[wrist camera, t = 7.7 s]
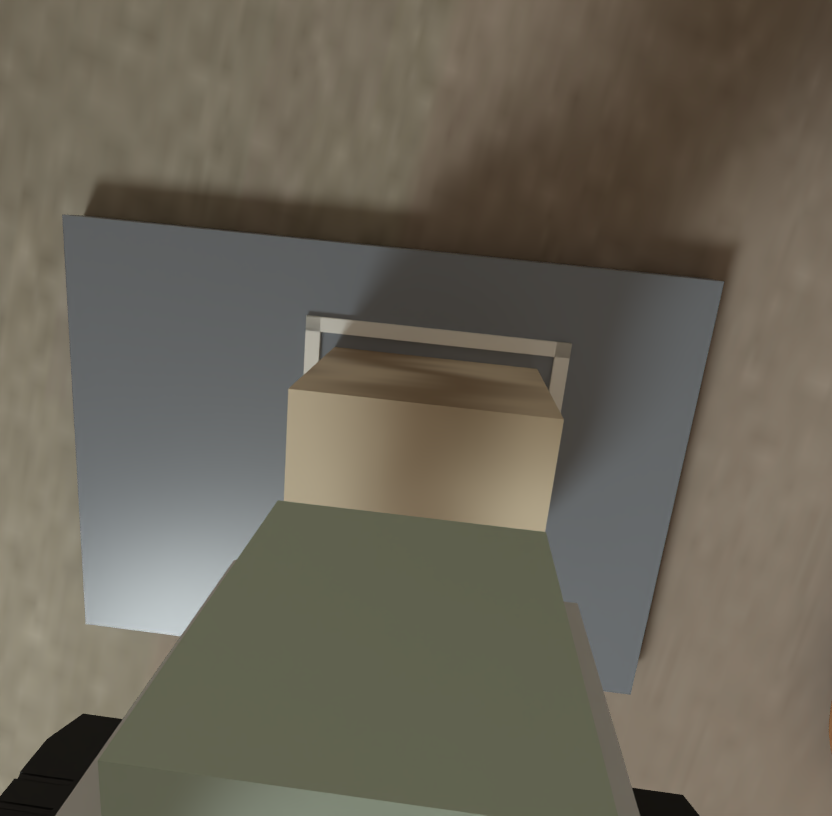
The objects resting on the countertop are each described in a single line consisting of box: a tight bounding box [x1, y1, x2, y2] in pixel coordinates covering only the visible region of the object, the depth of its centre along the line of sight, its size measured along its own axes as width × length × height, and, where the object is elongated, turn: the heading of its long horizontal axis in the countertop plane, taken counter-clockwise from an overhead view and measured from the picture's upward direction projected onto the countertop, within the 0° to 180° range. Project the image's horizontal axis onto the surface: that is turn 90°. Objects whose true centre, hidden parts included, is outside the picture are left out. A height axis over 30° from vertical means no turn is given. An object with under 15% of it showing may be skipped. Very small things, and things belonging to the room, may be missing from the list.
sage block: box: [98, 500, 618, 816], centre depth 10 cm, size 5×5×6 cm
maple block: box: [284, 347, 564, 532], centre depth 20 cm, size 7×7×6 cm
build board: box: [62, 215, 724, 694], centre depth 24 cm, size 22×16×1 cm
